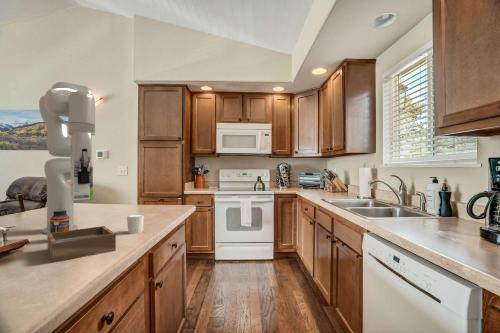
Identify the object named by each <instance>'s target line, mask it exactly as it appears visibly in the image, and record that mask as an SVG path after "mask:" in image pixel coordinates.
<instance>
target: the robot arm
mask: <svg viewBox="0 0 500 333" xmlns="http://www.w3.org/2000/svg"><path fill="white" fill-rule="evenodd" d="M38 108H39V113H40V116H41V118H42V120H43V121H44V125H45V130H46V144H47V151H48V154H50V155H51V156H52V157H57V158H50V159H48V160H46V162H44V166H43V167H44V175H45V180H46V227H44V228H43V229H41V230H42V231H41V232H42V233H43V234H47V235H48V233H50V219H51V217H52V216H53V215H54V211H55V210H66V214H67V215H68V216H69V231H70V230H77V229H78V228H79V227H78V225H76V224H74V219H75V218H74V215H75V214H74V209H75V208H74V202H75V201H73V200H72V199H71V184H69V182H67V181H71V163H72V157H73V162H74V163H76V162H77V161H78V165H79V172H78V184H89V175H90V172H89V163H90V162H91V159H92V157H93V156H92V155H93V147H92V146H93V143H92V140H93V139H92V136H95V135H96V99H95V96H94V95H93V93H92V90H91V89H90V88H89V87H88V86H86V85H82V84H78V83H77V84H76V83H72V82H71V83H70V82H66V81H65V82H64V81H58V82H56V83H53V85H52V86H51V88H49V89H48V90H47V91H46V92H45V94H44V95H43V96H41V97H40V98H39V100H38ZM62 117H63V118H68V119H67V120H68V121H67V122H68V123H67V122H66V121H65V120H64V119H63V118H62ZM50 155H49V156H50ZM88 157H89V158H90V160H88ZM80 161H83V162H80Z"/></svg>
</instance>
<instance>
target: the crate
mask: <svg viewBox="0 0 500 333" xmlns="http://www.w3.org/2000/svg"><path fill="white" fill-rule="evenodd" d="M116 236H117V234H116V233H115V232H114V231H112V230H111V229H109V228H107V227H106V225H102V226H95V227H94V226H93V227H86V228H79V229H78V228H77V229H76V230H70V231H62V232H55V233H48V234H47V252H48V255H49V257H50V260H51V263H58V262H62V261H68V260H73V259H78V258H83V257H89V256H94V255H99V254H105V253H109V252H115V251H116V250H117V242H116V241H117V238H116Z"/></svg>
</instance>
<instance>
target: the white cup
mask: <svg viewBox="0 0 500 333" xmlns="http://www.w3.org/2000/svg"><path fill="white" fill-rule="evenodd" d="M144 220H145V215H144V214H137V213H136V214H129V215H127V216H126V222H127V224H126V225H127V232H128V234H139V233H140V234H141V233H143V230H144V222H145V221H144Z"/></svg>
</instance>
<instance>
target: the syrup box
mask: <svg viewBox="0 0 500 333" xmlns="http://www.w3.org/2000/svg"><path fill="white" fill-rule="evenodd" d="M88 160H90V158H89V157H88ZM80 162H83V161H80ZM78 172H79V165H78V161H77V162H76V163H74V162H73V157H72V163H71V180H70V182H71V183H70V185H71V199H72V200H73V201H74V202H75V201H76V202H77V201H89V200H91V201H93V200H94V187H93V186H94V158H93V156H92V159H91V162H90V163H89V172H90V175H89V184H78Z"/></svg>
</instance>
